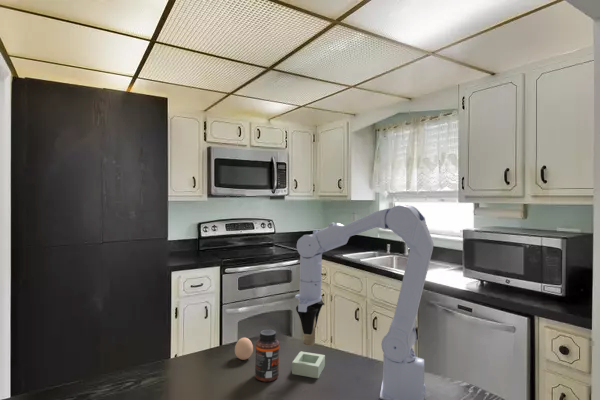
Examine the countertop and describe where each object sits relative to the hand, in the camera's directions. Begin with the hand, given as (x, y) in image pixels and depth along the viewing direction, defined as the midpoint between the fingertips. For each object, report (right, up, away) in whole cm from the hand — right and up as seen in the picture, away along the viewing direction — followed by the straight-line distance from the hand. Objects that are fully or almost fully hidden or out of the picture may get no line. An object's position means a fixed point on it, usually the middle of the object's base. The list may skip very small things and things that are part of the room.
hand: (309, 331), depth 94 cm
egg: (-18, -10, +6) cm, 22 cm away
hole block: (0, -10, 0) cm, 10 cm away
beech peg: (0, -3, 0) cm, 3 cm away
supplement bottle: (-11, -10, -4) cm, 16 cm away
